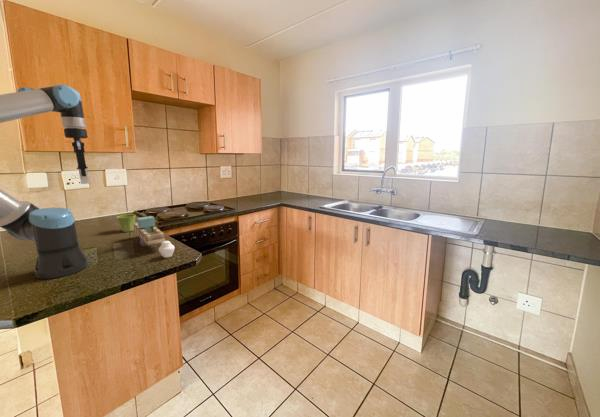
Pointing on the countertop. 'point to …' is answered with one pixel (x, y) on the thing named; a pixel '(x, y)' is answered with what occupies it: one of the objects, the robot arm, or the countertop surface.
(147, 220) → the rider
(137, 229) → the beam
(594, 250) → the countertop surface
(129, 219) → the plant pot
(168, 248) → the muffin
